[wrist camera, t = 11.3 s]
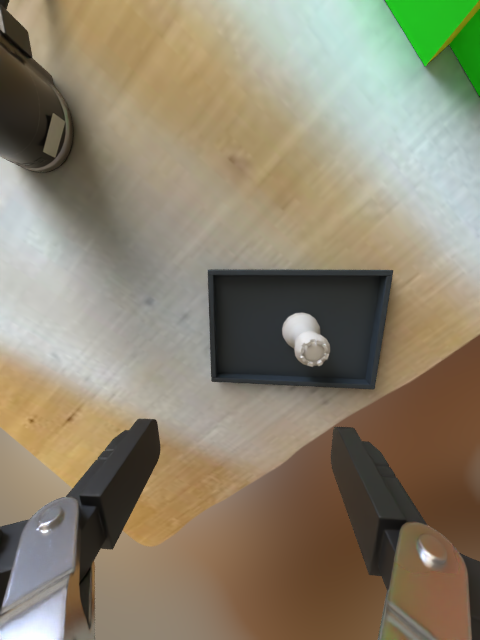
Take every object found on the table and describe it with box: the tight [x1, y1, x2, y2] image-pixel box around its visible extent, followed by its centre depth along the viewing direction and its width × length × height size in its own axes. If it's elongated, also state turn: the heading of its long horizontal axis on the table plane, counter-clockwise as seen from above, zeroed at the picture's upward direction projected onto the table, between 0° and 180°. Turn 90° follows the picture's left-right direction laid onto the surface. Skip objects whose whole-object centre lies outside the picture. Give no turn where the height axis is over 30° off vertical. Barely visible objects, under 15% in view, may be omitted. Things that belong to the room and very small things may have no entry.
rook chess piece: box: [282, 313, 330, 367], centre depth 24 cm, size 4×4×8 cm
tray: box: [208, 270, 393, 389], centre depth 27 cm, size 14×20×2 cm
